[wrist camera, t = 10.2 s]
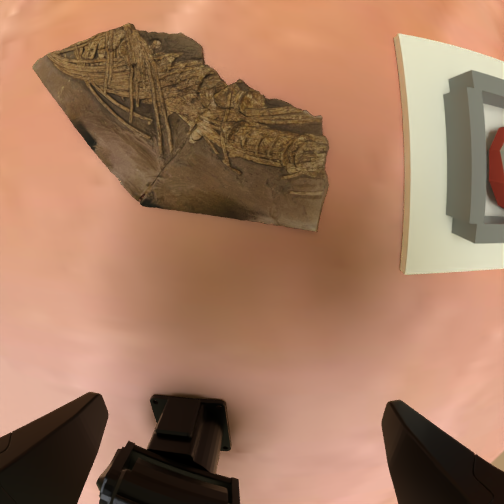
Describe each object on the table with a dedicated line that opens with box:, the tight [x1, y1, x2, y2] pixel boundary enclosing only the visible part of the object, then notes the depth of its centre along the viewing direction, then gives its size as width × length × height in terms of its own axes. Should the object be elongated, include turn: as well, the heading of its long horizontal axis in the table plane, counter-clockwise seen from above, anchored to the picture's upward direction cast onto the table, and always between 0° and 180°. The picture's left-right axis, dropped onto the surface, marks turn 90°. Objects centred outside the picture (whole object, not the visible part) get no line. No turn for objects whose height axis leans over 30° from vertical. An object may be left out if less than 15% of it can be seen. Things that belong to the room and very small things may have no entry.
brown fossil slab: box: [33, 23, 329, 232], centre depth 18 cm, size 26×11×1 cm, turn 55°
